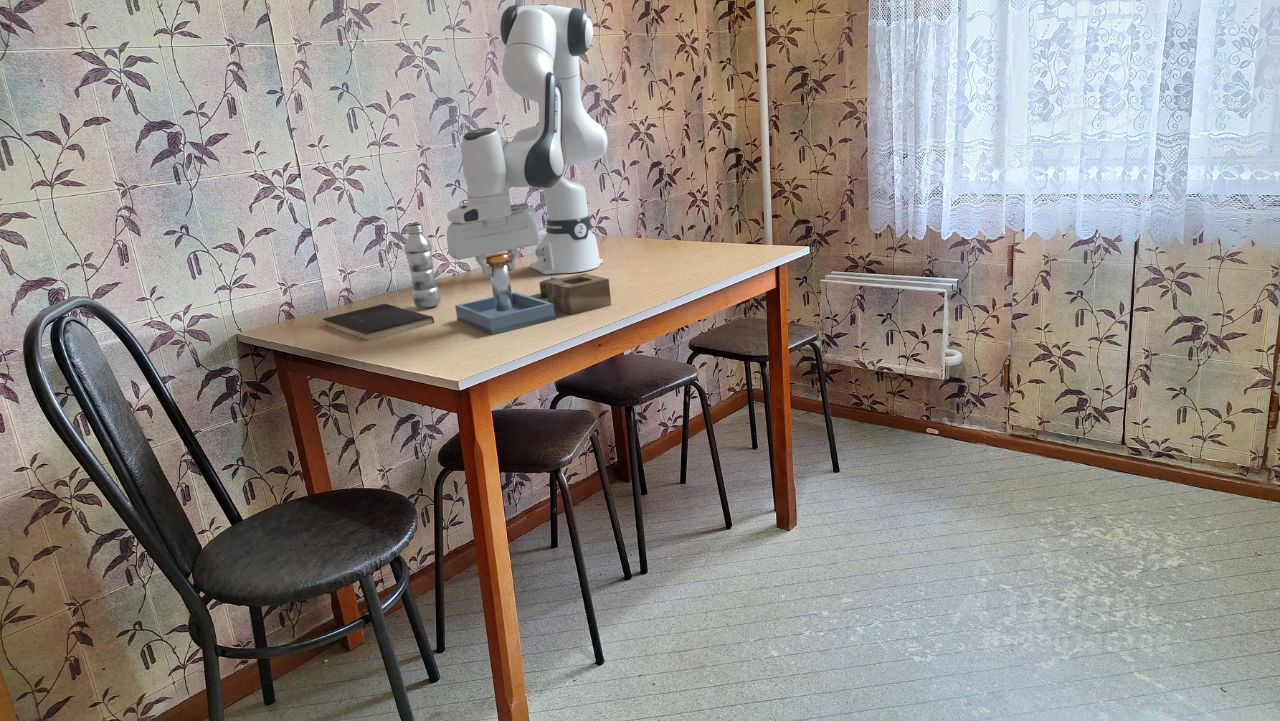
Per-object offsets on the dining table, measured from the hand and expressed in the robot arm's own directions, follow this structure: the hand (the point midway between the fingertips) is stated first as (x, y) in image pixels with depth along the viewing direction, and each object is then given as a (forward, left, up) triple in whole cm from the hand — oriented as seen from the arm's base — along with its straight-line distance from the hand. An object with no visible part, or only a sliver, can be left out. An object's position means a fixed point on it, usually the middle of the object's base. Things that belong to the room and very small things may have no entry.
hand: (499, 272), depth 180 cm
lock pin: (0, 0, -8) cm, 8 cm away
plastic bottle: (-28, -7, -11) cm, 31 cm away
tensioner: (-1, +17, -11) cm, 20 cm away
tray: (0, 0, -11) cm, 11 cm away
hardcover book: (-22, -21, -11) cm, 33 cm away
